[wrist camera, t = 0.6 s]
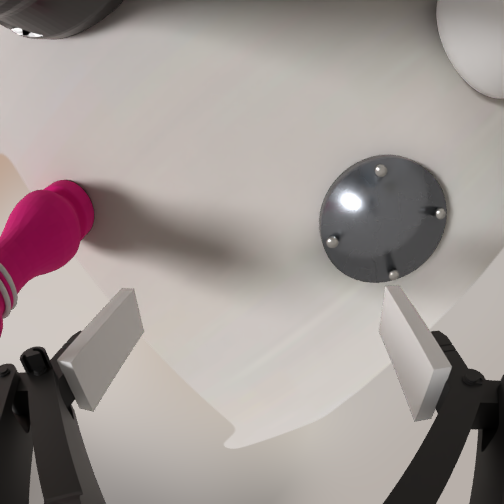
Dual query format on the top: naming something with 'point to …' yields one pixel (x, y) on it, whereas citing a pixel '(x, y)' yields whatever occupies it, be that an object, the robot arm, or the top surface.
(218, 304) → the top surface
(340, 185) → the flange plate
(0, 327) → the pepper mill
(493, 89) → the flower in vase
